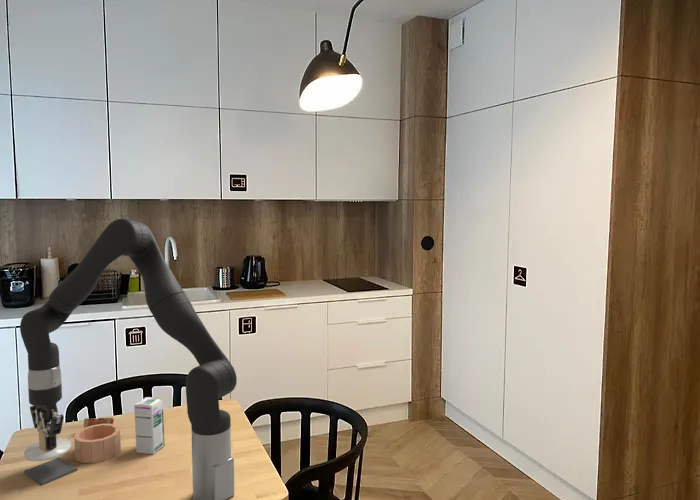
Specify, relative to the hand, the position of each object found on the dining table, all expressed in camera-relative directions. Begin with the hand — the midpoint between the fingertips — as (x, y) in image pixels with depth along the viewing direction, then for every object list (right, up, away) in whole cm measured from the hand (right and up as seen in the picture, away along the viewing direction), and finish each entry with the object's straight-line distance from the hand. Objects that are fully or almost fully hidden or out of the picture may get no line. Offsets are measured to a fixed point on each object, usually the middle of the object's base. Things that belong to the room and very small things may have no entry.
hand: (48, 446), depth 139 cm
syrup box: (+22, -6, +14) cm, 26 cm away
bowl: (+8, -6, +12) cm, 15 cm away
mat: (0, -7, +1) cm, 7 cm away
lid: (0, -1, 0) cm, 1 cm away
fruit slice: (+2, -5, +24) cm, 25 cm away
